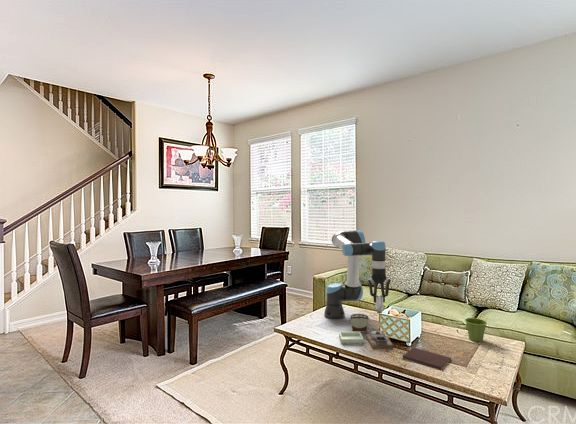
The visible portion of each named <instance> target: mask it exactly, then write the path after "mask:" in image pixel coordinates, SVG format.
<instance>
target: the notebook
mask: <svg viewBox="0 0 576 424" xmlns="http://www.w3.org/2000/svg"><path fill="white" fill-rule="evenodd" d="M402 359H404V360H407V361H410V362H413V363H417V364H420V365H423V366H426V367H430V368H433V369H436V370H439V371H442V369H444V368H445V366H447V364H449V362H450V361H451V360H452V358H451V357H449V356H445V355H443V354H439V353H435V352H431V351H427V350H424V349H420V348H417V347H412V348H411V349H409V351H407V352H406V353H403V355H402Z"/></svg>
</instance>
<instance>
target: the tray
mask: <svg viewBox="0 0 576 424" xmlns="http://www.w3.org/2000/svg"><path fill="white" fill-rule="evenodd" d="M338 337H339V341H340V344H341V345H364V343H365V342H364V341H365V339H364V337H363V334H362V333H361V332H352V331H339V332H338Z"/></svg>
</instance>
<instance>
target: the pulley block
mask: <svg viewBox="0 0 576 424" xmlns="http://www.w3.org/2000/svg"><path fill="white" fill-rule="evenodd" d="M382 332H383V331H379V330H374V331H371V332H370V334H368V333H366V335H365V338H366V340H367V341H368V344H369V346H370V348H371V349H375V348H376V349H377V348H391V349H394V344H393V343H392V342H391V339H390V338H389V336H387V337H385V334H386V333H385V332H383V333H382ZM377 350H378V349H377Z"/></svg>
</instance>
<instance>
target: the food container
mask: <svg viewBox="0 0 576 424" xmlns="http://www.w3.org/2000/svg"><path fill="white" fill-rule="evenodd" d="M349 319H350V323H351V332H360V333H361V332H363V333H366V332H368V325H369V320H370V317H369V316H368V315H367V314H364V313H352V314H351V315H350V317H349Z"/></svg>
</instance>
